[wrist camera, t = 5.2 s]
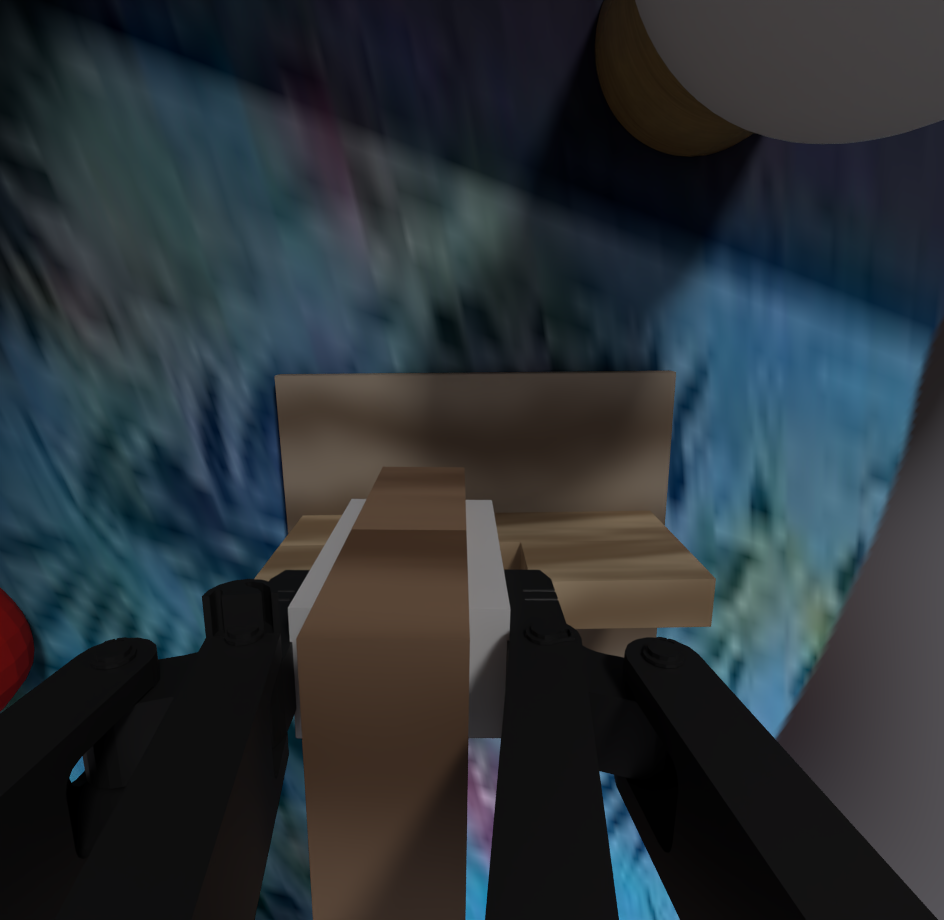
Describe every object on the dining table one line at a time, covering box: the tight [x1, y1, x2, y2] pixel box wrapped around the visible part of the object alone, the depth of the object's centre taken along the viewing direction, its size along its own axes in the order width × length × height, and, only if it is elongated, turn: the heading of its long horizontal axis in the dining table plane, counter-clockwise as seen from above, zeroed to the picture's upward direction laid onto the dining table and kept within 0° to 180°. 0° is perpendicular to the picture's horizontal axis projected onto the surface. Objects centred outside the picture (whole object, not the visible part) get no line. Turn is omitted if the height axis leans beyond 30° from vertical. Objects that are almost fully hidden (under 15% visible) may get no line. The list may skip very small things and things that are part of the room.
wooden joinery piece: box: [255, 371, 716, 657], centre depth 34 cm, size 20×24×11 cm
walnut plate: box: [296, 467, 470, 920], centre depth 16 cm, size 18×2×10 cm, turn 179°
